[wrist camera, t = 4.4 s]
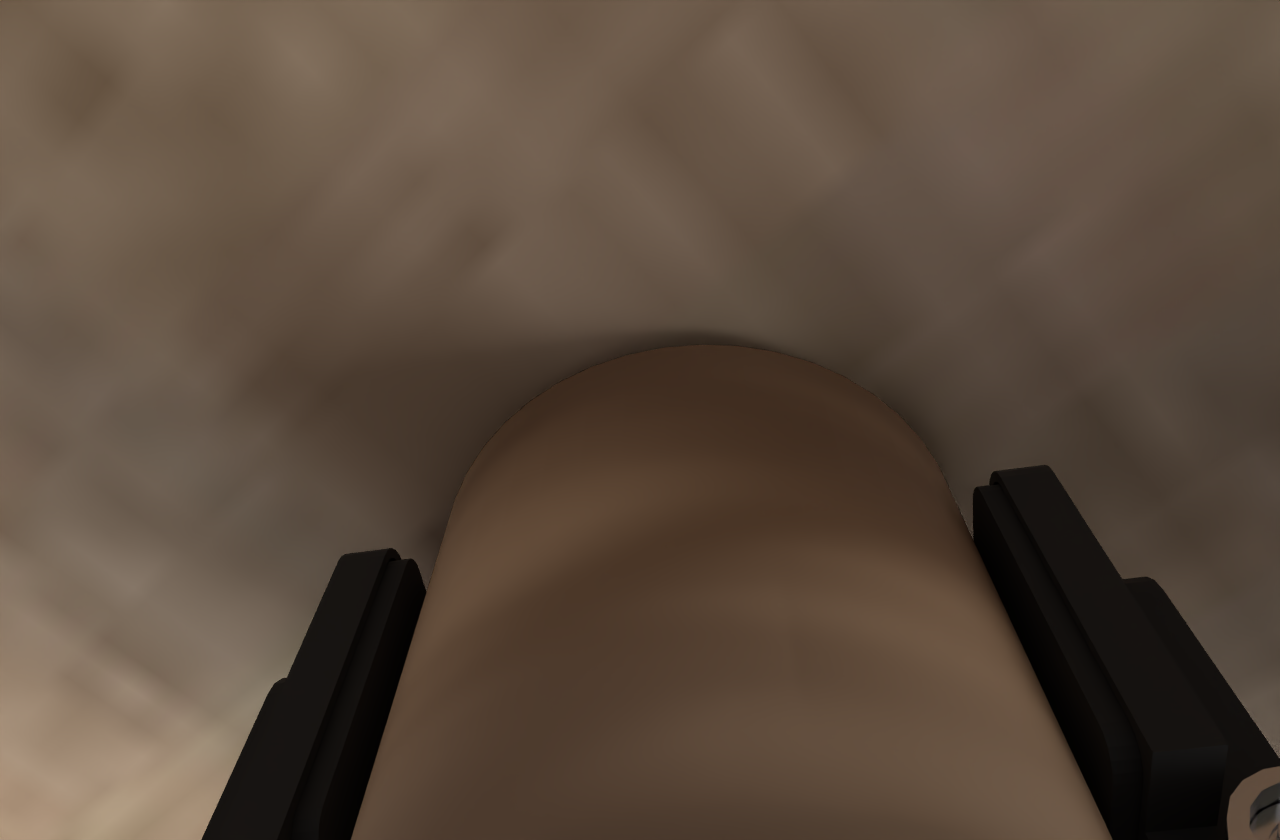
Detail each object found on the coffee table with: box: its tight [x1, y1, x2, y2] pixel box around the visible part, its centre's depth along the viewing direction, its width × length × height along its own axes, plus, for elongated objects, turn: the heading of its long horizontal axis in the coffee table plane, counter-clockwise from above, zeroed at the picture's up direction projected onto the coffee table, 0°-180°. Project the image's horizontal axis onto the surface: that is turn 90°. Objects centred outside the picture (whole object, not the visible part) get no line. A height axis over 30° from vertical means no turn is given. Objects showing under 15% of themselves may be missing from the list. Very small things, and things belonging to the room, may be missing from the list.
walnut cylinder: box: [351, 345, 1113, 840], centre depth 10 cm, size 6×6×6 cm
